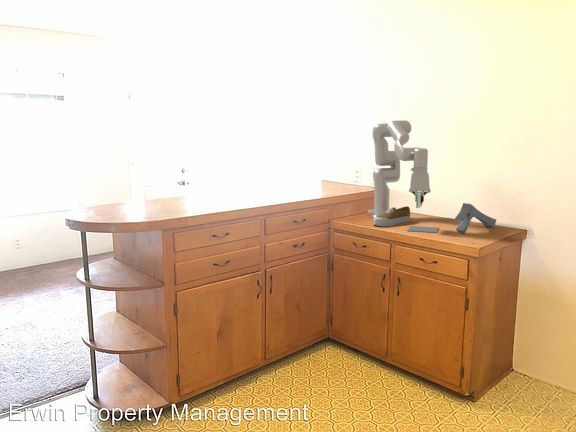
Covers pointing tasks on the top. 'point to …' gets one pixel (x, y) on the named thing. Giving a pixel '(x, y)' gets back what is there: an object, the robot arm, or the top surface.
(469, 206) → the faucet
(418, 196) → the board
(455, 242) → the top surface
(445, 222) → the top surface
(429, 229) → the mat
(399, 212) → the sneaker
